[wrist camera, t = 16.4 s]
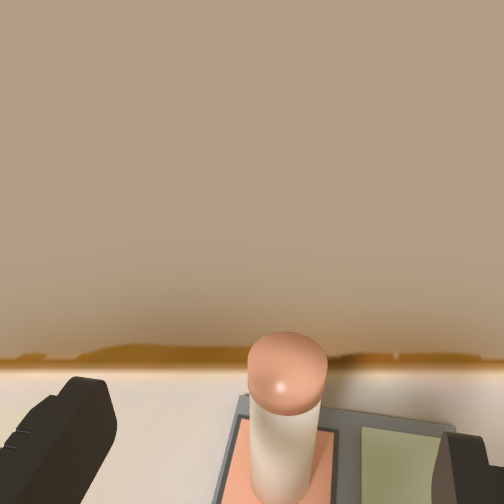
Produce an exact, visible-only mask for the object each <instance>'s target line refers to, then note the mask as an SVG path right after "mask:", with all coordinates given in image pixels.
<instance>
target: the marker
mask: <svg viewBox="0 0 504 504" xmlns="http://www.w3.org/2000/svg"><path fill="white" fill-rule="evenodd" d="M327 368H328V362H327V357H326V354H325V353H324V351H323V349H322V348H321V347H320V346H319V344H317V343H316V342H315V341H314V340H312V339H311V338H309V337H307V336H305V335H302V334H299V333H294V332H277V333H272V334H269V335H267V336H264V337H263V338H261V339H260V340H258V341H257V342H256V343H255V344H254V345H253V347H252V348H251V350H250V352H249V355H248V388H249V392H250V485H251V488H252V491H253V493H254V495H255V496H256V497H257V498H258V500H259V501H261V502H262V503H263V504H298V503H300V502H301V501H302V500H303V499H304V497H305V496H306V494H307V492H308V488H309V483H310V476H311V469H312V461H313V454H314V447H315V440H316V433H317V426H318V419H319V412H320V405H321V399H322V397H323V394H324V389H325V382H326V375H327Z"/></svg>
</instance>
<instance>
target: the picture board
mask: <svg viewBox="0 0 504 504" xmlns="http://www.w3.org/2000/svg"><path fill="white" fill-rule="evenodd" d="M444 431H447V432H454V433H456V428H455V426H450V425H443V424H437V423H430V422H423V421H416V420H409V419H402V418H395V417H388V416H381V415H375V414H368V413H361V412H354V411H347V410H340V409H333V408H326V407H320V412H319V419H318V426H317V433H316V440H315V447H314V454H313V461H312V469H311V476H310V483H309V488H308V492H307V494H306V496H305V497H304V499H303V500H302V501H301V502H300V503H298V504H432V502H431V483H432V474H433V469H434V465H435V461H436V457H437V453H438V449H439V444H440V440H441V436H442V433H443V432H444ZM212 504H263V503H262V502H261V501H259V500H258V498H257V497H256V496H255V495H254V493H253V491H252V488H251V485H250V396H244V395H240V396H239V400H238V404H237V408H236V411H235V415H234V419H233V423H232V427H231V431H230V435H229V439H228V442H227V446H226V450H225V454H224V458H223V462H222V466H221V470H220V474H219V477H218V481H217V485H216V489H215V493H214V497H213V501H212Z"/></svg>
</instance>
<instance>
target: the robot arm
mask: <svg viewBox="0 0 504 504" xmlns="http://www.w3.org/2000/svg"><path fill="white" fill-rule="evenodd" d="M116 431H117V420H116V416H115V412H114V409H113V405H112V402H111V398H110V395H109V391H108V388H107V385H106V383H105V381H103V380H98V379H91V378H84V377H77V376H75V377H72V378H71V379H70V380H69V381H68V382H67V383H66V384H65V386H64V387H63V388H62V390H61V391H60V393H59V394H58V395H57V396H54V395H49V396H48V397H47V398H45V399H44V400H43V401H41V402H40V403H39V404H37V405H36V406H35V407H34V408H32V409H31V410H30V411H29V412H28V414H27V415H26V416H25V417H24V419H23V420H22V421H21V423H20V424H19V425H18V427H17V428H16V431H15V432H13V433H12V434H11V436H10V437H9V438H8V439H7V441H6V442H5V443H4V447H3V448H0V504H80V503H81V501H82V499H83V498H84V496H85V494H86V492H87V490H88V489H89V487H90V485H91V483H92V481H93V479H94V478H95V476H96V474H97V472H98V470H99V469H100V467H101V465H102V463H103V461H104V459H105V458H106V456H107V454H108V452H109V450H110V448H111V447H112V445H113V442H114V439H115V436H116ZM431 502H432V504H504V467H498V466H492V465H489V462H488V458H487V453H486V449H485V445H484V441H483V439H482V438H481V437H480V436H474V435H467V434H460V433H454V432H447V431H444V432H443V433H442V436H441V440H440V444H439V449H438V453H437V457H436V461H435V465H434V469H433V474H432V483H431Z"/></svg>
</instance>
